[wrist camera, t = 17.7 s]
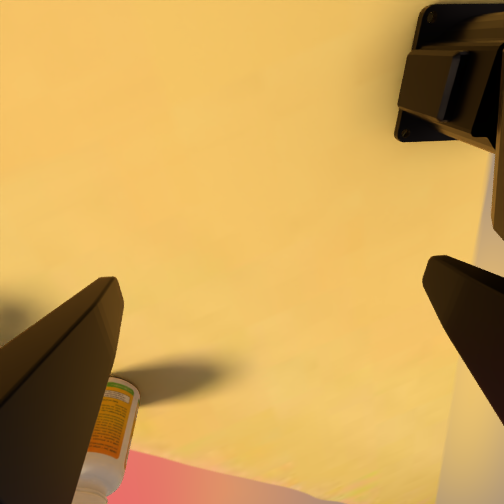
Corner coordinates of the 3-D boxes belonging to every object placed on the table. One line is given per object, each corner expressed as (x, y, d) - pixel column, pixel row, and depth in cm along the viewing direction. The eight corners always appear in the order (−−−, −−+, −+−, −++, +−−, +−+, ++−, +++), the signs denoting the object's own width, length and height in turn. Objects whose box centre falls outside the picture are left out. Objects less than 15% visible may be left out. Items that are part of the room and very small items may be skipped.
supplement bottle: (67, 382, 29) (7, 517, 20) (126, 369, 28) (90, 500, 20) (95, 416, 31) (53, 546, 23) (149, 404, 31) (126, 532, 23)
